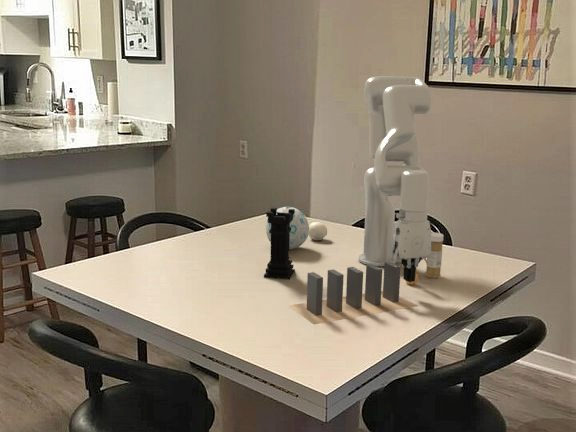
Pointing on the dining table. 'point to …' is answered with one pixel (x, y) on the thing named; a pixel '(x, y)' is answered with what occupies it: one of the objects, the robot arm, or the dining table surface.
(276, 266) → the chess piece
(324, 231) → the cream round ball
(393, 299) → the domino
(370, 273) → the domino
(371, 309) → the cork mat
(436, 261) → the sprinkles bottle
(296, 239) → the puzzle ball
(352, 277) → the domino
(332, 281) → the domino
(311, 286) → the domino
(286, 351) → the dining table surface
